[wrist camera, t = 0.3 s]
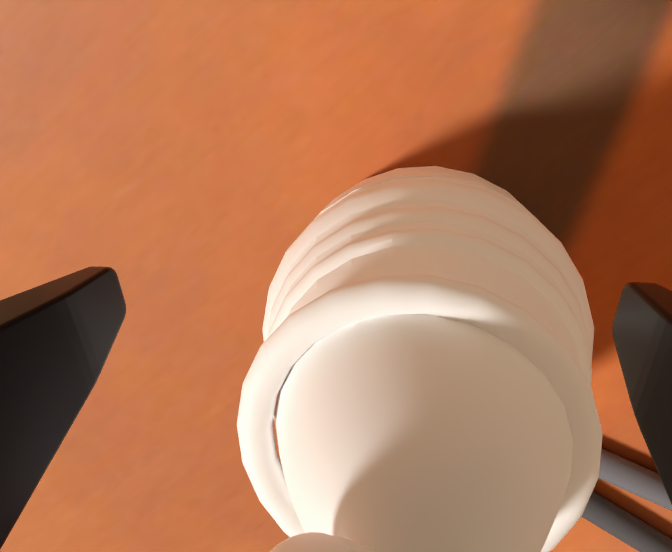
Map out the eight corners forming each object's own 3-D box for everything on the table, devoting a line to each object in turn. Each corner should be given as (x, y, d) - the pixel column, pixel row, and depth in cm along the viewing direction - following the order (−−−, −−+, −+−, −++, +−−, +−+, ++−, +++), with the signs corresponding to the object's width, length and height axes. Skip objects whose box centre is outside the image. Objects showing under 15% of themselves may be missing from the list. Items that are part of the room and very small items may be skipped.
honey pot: (262, 363, 28) (12, 763, 11) (337, 125, 23) (112, 172, 6) (492, 450, 27) (606, 1016, 10) (612, 222, 23) (1157, 551, 6)
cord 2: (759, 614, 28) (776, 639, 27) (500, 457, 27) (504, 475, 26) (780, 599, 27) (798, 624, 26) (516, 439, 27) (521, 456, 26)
